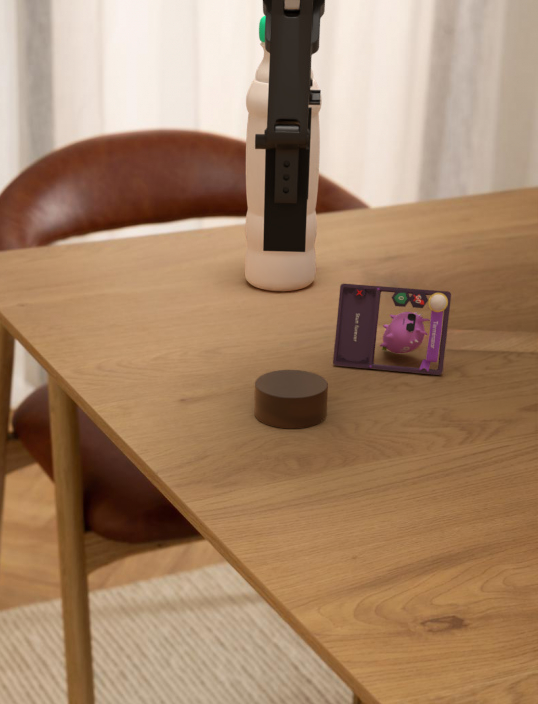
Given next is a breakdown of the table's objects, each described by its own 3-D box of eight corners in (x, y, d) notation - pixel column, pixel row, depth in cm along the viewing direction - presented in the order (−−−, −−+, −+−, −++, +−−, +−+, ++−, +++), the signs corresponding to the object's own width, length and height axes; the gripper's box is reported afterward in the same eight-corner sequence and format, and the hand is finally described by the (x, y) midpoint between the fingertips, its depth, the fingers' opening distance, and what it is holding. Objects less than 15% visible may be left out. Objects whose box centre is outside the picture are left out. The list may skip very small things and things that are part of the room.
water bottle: (246, 293, 115) (248, 19, 104) (242, 271, 121) (244, 10, 110) (319, 292, 115) (329, 18, 104) (311, 270, 122) (320, 10, 110)
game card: (339, 282, 97) (450, 291, 95) (347, 285, 102) (453, 293, 100) (331, 365, 98) (441, 375, 96) (340, 363, 103) (445, 373, 101)
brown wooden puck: (326, 400, 92) (328, 370, 91) (326, 429, 87) (327, 398, 86) (256, 398, 93) (256, 368, 92) (252, 427, 88) (252, 396, 87)
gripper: (248, -122, 84) (244, 178, 94) (221, -118, 62) (219, 275, 72) (355, -122, 83) (339, 181, 93) (365, -117, 61) (343, 278, 71)
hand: (287, 222), depth 83 cm, fingers open, 13 cm apart
